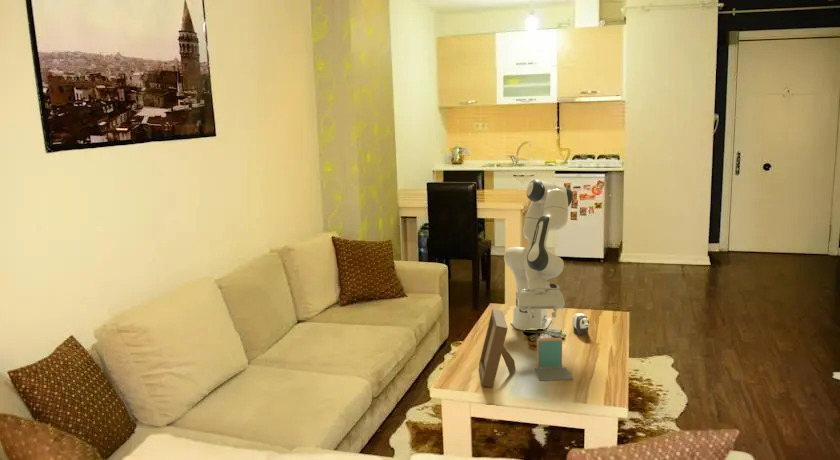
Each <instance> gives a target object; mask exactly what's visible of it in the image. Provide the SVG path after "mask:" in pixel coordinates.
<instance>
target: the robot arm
mask: <svg viewBox="0 0 840 460" xmlns="http://www.w3.org/2000/svg"><path fill="white" fill-rule="evenodd" d="M526 197H527V199H528V200H530V201H531V202H530V204H529V206H528V209H527V211H526V216H525V220H524V224H523V229H522V235H523V237H524V238H525V239H526V240H527V243H528V247H523V246H510V247H507V249H506V250H505V252H504V254H503V260H504V263H505V265H506V266H507V267H508V268H509V270H510V271H511V273H512V274H513V277H514V281H515V284H516V287H515V288H516V291H515V297H516V298H515V307H514V308H513V314H512V315H513V316H512V320H511V321H510V325H512V326H513V327H514V329H517V330H521V331H525V329H529V328H547V329H548V327H549V326H550V325H551V322H552V321H553V319H552V318H557V310H558V309H559V310H560V309H564V307H565V306H566V305H565V298H564V295H563V292H562V291H561V290H560V285H559V284H557V283H554V282H550V281H549V280H552V279H556V278H557V277H559V276H561V275H562V274H563V272H564V270H565V261H564V260H563V258H561V257H560V256H558V255H556V254H554V253H552V252H550V251H549V249H548V246H547V239H548V235H549V233H550V232H555V231H558V230H561V229H563V228H565V226H566V225H567V222H568V217H569V207H570V206H571V204H572V201H573V197H574V195H573V191H572V190H571V189H570V188H568V187H567V186H563V185H560V184H557V183H555V182H549V181H545V180H544V181H543V180H541V179H533V180H531V181H530V182H529V184H528V185H527V188H526ZM548 310H553V311H552V312H551V317H548Z"/></svg>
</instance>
